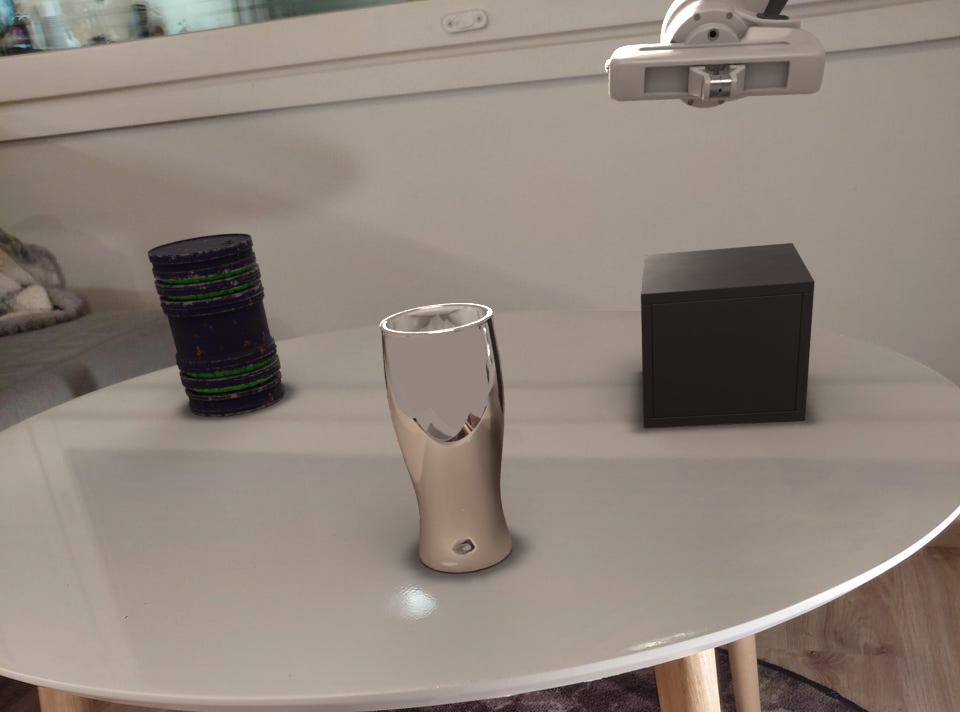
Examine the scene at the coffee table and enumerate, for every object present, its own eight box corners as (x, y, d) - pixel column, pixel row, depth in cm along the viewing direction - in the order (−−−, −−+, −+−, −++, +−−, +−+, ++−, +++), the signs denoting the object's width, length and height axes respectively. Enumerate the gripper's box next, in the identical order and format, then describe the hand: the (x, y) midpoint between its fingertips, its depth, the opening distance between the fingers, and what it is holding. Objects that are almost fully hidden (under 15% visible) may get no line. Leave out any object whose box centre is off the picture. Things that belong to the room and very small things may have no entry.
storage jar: (172, 419, 95) (126, 259, 87) (211, 387, 103) (172, 238, 96) (267, 413, 93) (230, 250, 86) (299, 382, 102) (267, 229, 94)
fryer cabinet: (646, 373, 91) (643, 255, 86) (785, 365, 89) (792, 242, 83) (643, 428, 79) (640, 294, 74) (805, 420, 77) (814, 281, 71)
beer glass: (404, 540, 66) (367, 314, 58) (503, 520, 67) (480, 296, 59) (424, 585, 60) (385, 341, 52) (532, 563, 61) (510, 320, 53)
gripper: (606, 25, 98) (606, 56, 88) (815, 15, 96) (840, 45, 86) (604, 95, 102) (604, 132, 92) (804, 87, 100) (827, 124, 90)
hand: (720, 90), depth 89 cm, fingers closed
